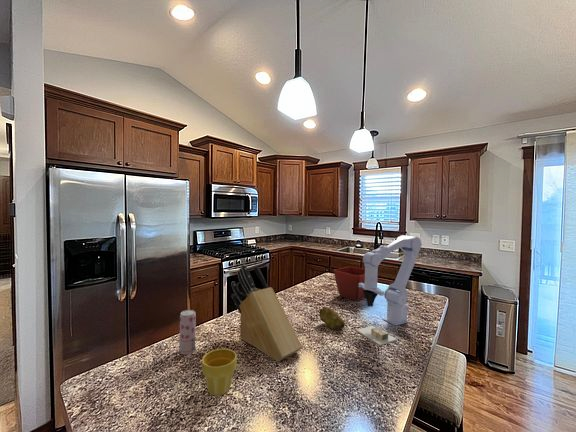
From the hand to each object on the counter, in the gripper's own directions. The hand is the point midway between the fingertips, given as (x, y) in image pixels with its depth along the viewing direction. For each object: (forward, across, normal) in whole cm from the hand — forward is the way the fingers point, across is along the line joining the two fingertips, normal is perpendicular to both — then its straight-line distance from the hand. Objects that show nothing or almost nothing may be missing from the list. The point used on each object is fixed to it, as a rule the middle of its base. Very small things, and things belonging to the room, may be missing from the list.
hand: (370, 306), depth 124 cm
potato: (+10, -8, -17) cm, 21 cm away
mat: (+10, +8, -4) cm, 13 cm away
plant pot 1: (+10, +12, -74) cm, 76 cm away
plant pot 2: (+10, -36, +22) cm, 43 cm away
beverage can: (+10, -14, -80) cm, 82 cm away
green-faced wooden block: (+8, +7, -4) cm, 12 cm away
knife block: (+10, -8, -52) cm, 53 cm away
